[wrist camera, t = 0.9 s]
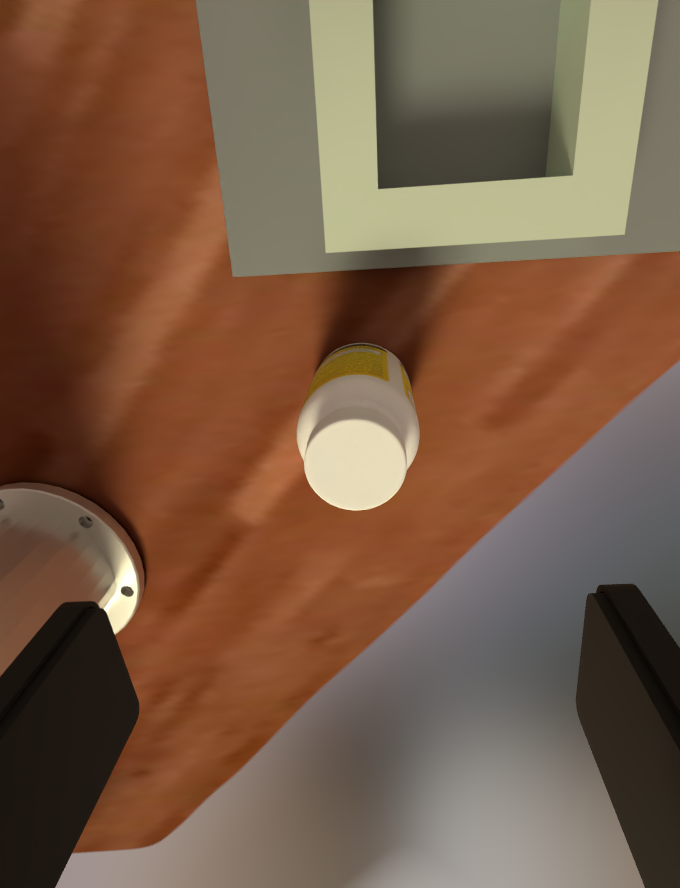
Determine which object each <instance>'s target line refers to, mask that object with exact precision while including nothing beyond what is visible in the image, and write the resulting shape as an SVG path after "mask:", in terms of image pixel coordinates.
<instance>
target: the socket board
mask: <svg viewBox="0 0 680 888" xmlns="http://www.w3.org/2000/svg"><path fill="white" fill-rule="evenodd" d="M196 7H197V14H198V21H199V29H200V36H201V44H202V51H203V59H204V66H205V73H206V81H207V88H208V96H209V103H210V110H211V118H212V125H213V133H214V140H215V148H216V155H217V162H218V170H219V177H220V185H221V192H222V200H223V207H224V214H225V222H226V229H227V237H228V244H229V252H230V259H231V266H232V274H233V277H243V276H260V275H277V274H294V273H312V272H329V271H346V270H363V269H380V268H397V267H414V266H431V265H449V264H466V263H483V262H500V261H517V260H534V259H551V258H568V257H586V256H603V255H620V254H637V253H654V252H671V251H680V0H196Z"/></svg>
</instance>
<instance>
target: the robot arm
mask: <svg viewBox="0 0 680 888" xmlns="http://www.w3.org/2000/svg"><path fill="white" fill-rule="evenodd" d="M143 592H144V570H143V566H142V561H141V558H140V556H139V554H138V551H137V549H136V547H135V545H134V543H133V542H132V540H131V539H130V537H129V536H128V534H127V533H126V531H125V530H124V529H123V528H122V527H121V526H120V525H119V524H118V522H117V521H116V520H115V519H114V518H113V517H112V516H111V515H109V514H108V513H107V512H105V511H104V510H103V509H102V508H100V507H99V506H98V505H96V504H95V503H93V502H91V501H89V500H88V499H86V498H84V497H82V496H80V495H79V494H76V493H74V492H71V491H68V490H66V489H63V488H60V487H56V486H52V485H47V484H42V483H25V482H20V483H13V484H7V485H2V486H0V888H55V887H56V885H57V882H58V880H59V878H60V876H61V874H62V872H63V870H64V868H65V866H66V864H67V862H68V860H69V858H70V856H71V854H72V852H73V850H74V848H75V846H76V844H77V842H78V840H79V838H80V836H81V834H82V832H83V830H84V828H85V825H86V823H87V821H88V819H89V817H90V815H91V813H92V811H93V809H94V807H95V805H96V803H97V801H98V799H99V797H100V795H101V793H102V791H103V789H104V787H105V785H106V783H107V781H108V779H109V777H110V775H111V773H112V771H113V768H114V766H115V764H116V762H117V760H118V758H119V756H120V754H121V752H122V750H123V748H124V746H125V744H126V742H127V740H128V738H129V736H130V734H131V732H132V730H133V728H134V726H135V724H136V721H137V719H138V715H139V701H138V698H137V695H136V693H135V690H134V687H133V684H132V682H131V679H130V676H129V673H128V670H127V668H126V665H125V662H124V659H123V657H122V654H121V651H120V648H119V646H118V643H117V640H116V637H115V635H116V634H117V633H118V632H119V631H120V630H122V629H123V628H124V627H125V626H126V625H127V624H128V622H129V621H130V619H131V618H132V617H133V615H134V613H135V612H136V610H137V608H138V606H139V604H140V603H141V600H142V596H143ZM576 705H577V712H578V716H579V719H580V722H581V724H582V727H583V730H584V732H585V735H586V738H587V740H588V743H589V745H590V748H591V750H592V753H593V755H594V758H595V761H596V763H597V766H598V768H599V771H600V773H601V776H602V779H603V781H604V784H605V786H606V789H607V791H608V794H609V796H610V799H611V802H612V804H613V807H614V809H615V812H616V814H617V817H618V820H619V822H620V825H621V827H622V830H623V832H624V835H625V837H626V840H627V843H628V845H629V848H630V850H631V853H632V855H633V858H634V860H635V863H636V866H637V868H638V871H639V873H640V876H641V878H642V881H643V884H644V886H645V888H680V648H679V647H678V645H677V644H676V642H675V641H674V639H673V638H672V636H671V635H670V634H669V632H668V631H667V629H666V628H665V626H664V625H663V623H662V622H661V621H660V619H659V618H658V616H657V615H656V613H655V612H654V610H653V609H652V607H651V606H650V605H649V603H648V602H647V600H646V599H645V597H644V596H643V595H642V593H641V591H640V590H639V589H638V588H637V586H636V585H633V584H612V585H599V586H598V588H597V591H596V593H590V594H588V596H587V600H586V609H585V619H584V629H583V637H582V646H581V656H580V666H579V676H578V684H577V693H576Z"/></svg>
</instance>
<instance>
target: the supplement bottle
mask: <svg viewBox="0 0 680 888" xmlns="http://www.w3.org/2000/svg"><path fill="white" fill-rule="evenodd" d="M419 434H420V432H419V422H418V418H417V414H416V409H415V404H414V399H413V395H412V389H411V385H410V381H409V378H408V374H407V372H406V370H405V368H404V366H403V365H402V363H401V362H400V361H399V359H398V358H397V357H396V356H395V355H394V354H392V353H391V352H390V351H388V350H387V349H385V348H383V347H381V346H378V345H374V344H370V343H353V344H348V345H345V346H342V347H340V348H338V349H336V350H335V351H333V352H332V353H331V354H329V355H328V356H327V357H326V358H325V359H324V360H323V362H322V363H321V364H320V366H319V368H318V369H317V371H316V373H315V375H314V377H313V380H312V383H311V386H310V388H309V391H308V394H307V397H306V399H305V402H304V405H303V407H302V410H301V412H300V416H299V420H298V425H297V443H298V447H299V451H300V454H301V456H302V458H303V460H304V468H305V474H306V477H307V479H308V482H309V484H310V485H311V487H312V488H313V490H314V491H315V492H316V493H317V494H318V495H319V496H320V497H321V498H322V499H324V500H325V501H326V502H328V503H330V504H332V505H334V506H336V507H339V508H342V509H347V510H366V509H370V508H374V507H376V506H379V505H381V504H383V503H385V502H386V501H388V500H389V499H390V498H391V497H392V496H393V495H394V494H395V493H396V492H397V491H398V490H399V488H400V487H401V485H402V483H403V481H404V478H405V475H406V470H407V469H408V468H409V466H410V465H411V463H412V461H413V460H414V457H415V455H416V453H417V449H418V445H419Z"/></svg>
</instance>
